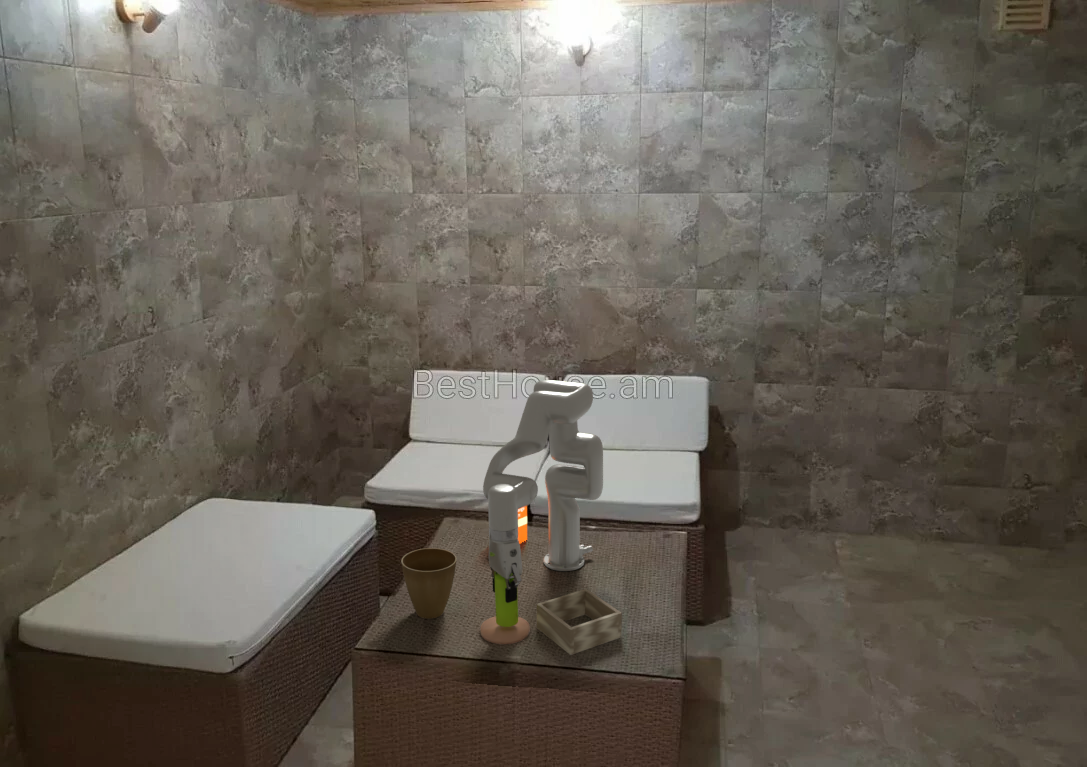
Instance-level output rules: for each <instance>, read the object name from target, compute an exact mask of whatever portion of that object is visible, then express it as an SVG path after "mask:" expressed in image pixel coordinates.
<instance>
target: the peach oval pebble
mask: <svg viewBox="0 0 1087 767" xmlns="http://www.w3.org/2000/svg"><path fill="white" fill-rule="evenodd" d="M530 630H531V626H530V623H529V622H528V620H526V619H524V618H523V617H520V616H518V623H517V624H516V625H514V626H510V627H503V626H499V625H498V624H497V623H496V615H495V616H492V617H489V618H487V619H486V620H484V621H483V622H482V623H481V625H480V631H479V632H480V635H481V637H482V639H484V640H485V641H487V642H489V643H492V644H497V645H511V644H516V643H520V642H522V641H523V640H526V639H527V638H528V637H529V635H530V633H531V632H530Z"/></svg>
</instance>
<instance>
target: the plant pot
mask: <svg viewBox="0 0 1087 767" xmlns="http://www.w3.org/2000/svg"><path fill="white" fill-rule="evenodd" d="M457 560H458V558H457V556H456V554H454V553H453V552H452V551H450V550H447V549H443V548H436V547H431V548H430V547H427V548H420V549H416V550H412V551H410V552H408V553H406V554H404V555H403V556H402V558H401V562H400V563H401V567H402V573H403V578H404V582H405V585H406V586H405V587H406V589H407V592H408V596H409V599H410V601H411V603H412V606H413V608H414V610H415V612H416V615H417V616H418V617H419V618H421V619H427V620H431V619H437V618H439V617H441V616H442V615H443V614H444V612H445V610H446V607H447V604H448V601H449V598H450V595H451V592H452V588H453V583H454V579H455V578H454V577H455V574H456V573H455V572H456V567H457Z"/></svg>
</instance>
